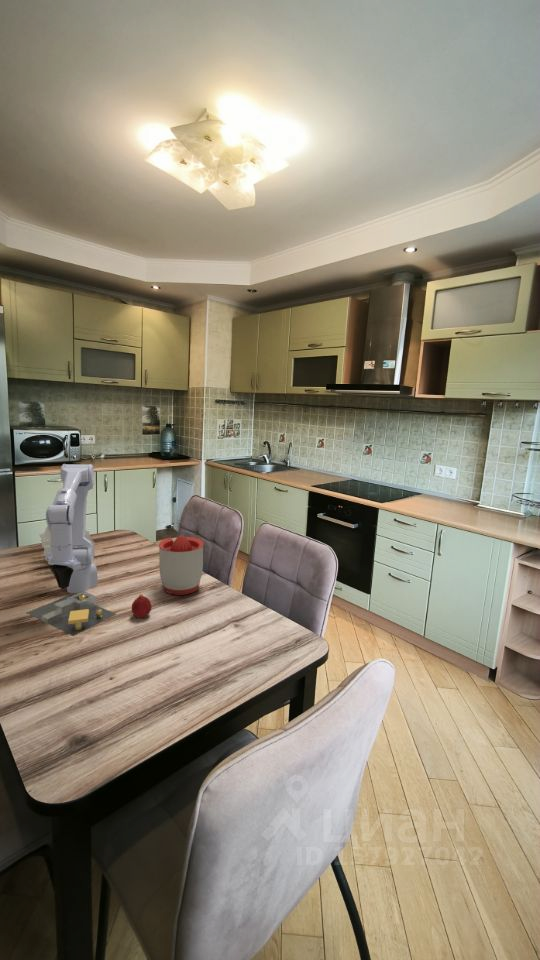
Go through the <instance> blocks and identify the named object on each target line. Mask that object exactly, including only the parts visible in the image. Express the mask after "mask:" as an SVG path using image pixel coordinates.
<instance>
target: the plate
mask: <svg viewBox="0 0 540 960" xmlns="http://www.w3.org/2000/svg"><path fill="white" fill-rule="evenodd" d="M71 596H73V595H72V594H69V595H67V596H64V597H62V598H59V599H56V600H53V601H51V602H50V603H47V604H44V605H41V606H39V607H37V608H35V609H31V610H29V611H27V612H26V614H27V615H30V616H31V617H33V618H36V619H38V620H40V621H41V622H43V621H42V616H43V615H45V614H48V613H50V612H52V611H54V604H56V603H58V602H61V601H63V600H66V599H67V598H69V597H71ZM97 609H102V617H101V618H97V617H96V610H97ZM116 615H117V613H116V612H113V611H111V610H108V609H106V608H103V607H101V606H98V605H96V606H94V607H92V608H90V609H89V616H88V622H82V623H81V624H82V629H81V630H76V628H75V623H74V624H68V620H69V615H68V616H66V617H64V618H60V619H58V620H56V621H54V622H52V623H49V624H48V625H49V626H51V627H54V628H56V629H58V630H60V631H62V632H64V633H66V634H68V635H70V636H73V637H74V636H77V635H78V634H81V633H82V632H86V630H88V629H90V628H92V627H95V626H96V625H98V624H100V623H102V622H105V621H107V620H109V619H110V618H113V617H114V616H116Z"/></svg>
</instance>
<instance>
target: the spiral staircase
mask: <svg viewBox="0 0 540 960" xmlns="http://www.w3.org/2000/svg"><path fill="white" fill-rule="evenodd" d="M46 525H47V526H46V528H45V530H44V532H43V533H40V534H39V537H40V542H41V543H42V544H41V547H42V548H43V549H44V550H43V554H44V555H45V554H47V553H50V552H51V541H50V531H49V530H48V524H46ZM91 534H92V533H91ZM91 534H90V531H89V530H87V529H86V528H85V538H86V539H88V540H89V541H91V542H92V544H93V551H94V552H95V549H94V548H95V547H94V546H95V545H96V542H94V540H93V539H92V538H91ZM79 547H86V546H76V547H72V548H79ZM94 556H95V553H94ZM48 561H50V560H48ZM48 561H47V562H48Z"/></svg>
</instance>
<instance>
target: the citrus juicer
mask: <svg viewBox="0 0 540 960" xmlns="http://www.w3.org/2000/svg"><path fill="white" fill-rule="evenodd" d="M157 545H158V550H159V551H158V553H159V557H158V559H159V562H158V563H159V565H158V567H159V576H160V580H161V584H162V587H163V589H164V592H166V593H168V594H170V595H172V594H174V596H175V595H176V596H178V595H179V596H181V595H182V596H183V595H188V594H192V593H194V592H196V591H197V590H198V588H199V586H200V583H201V579H202V575H203V569H204V545H205V543H204V541H203V540H201V539H199V538H197V537H193V536H192V537H191V536H187V537H185V536H184V535H183V534H180V535H179V536H178V537H176V538H175V540H173V538H172V537H169V538H165V539H163V540H161V541H160V542H159V543H158V544H157Z"/></svg>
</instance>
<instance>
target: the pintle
mask: <svg viewBox="0 0 540 960" xmlns="http://www.w3.org/2000/svg"><path fill="white" fill-rule="evenodd" d="M84 599H86V595H85V594H81V595H79V600H80V601H81V600H84Z"/></svg>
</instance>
